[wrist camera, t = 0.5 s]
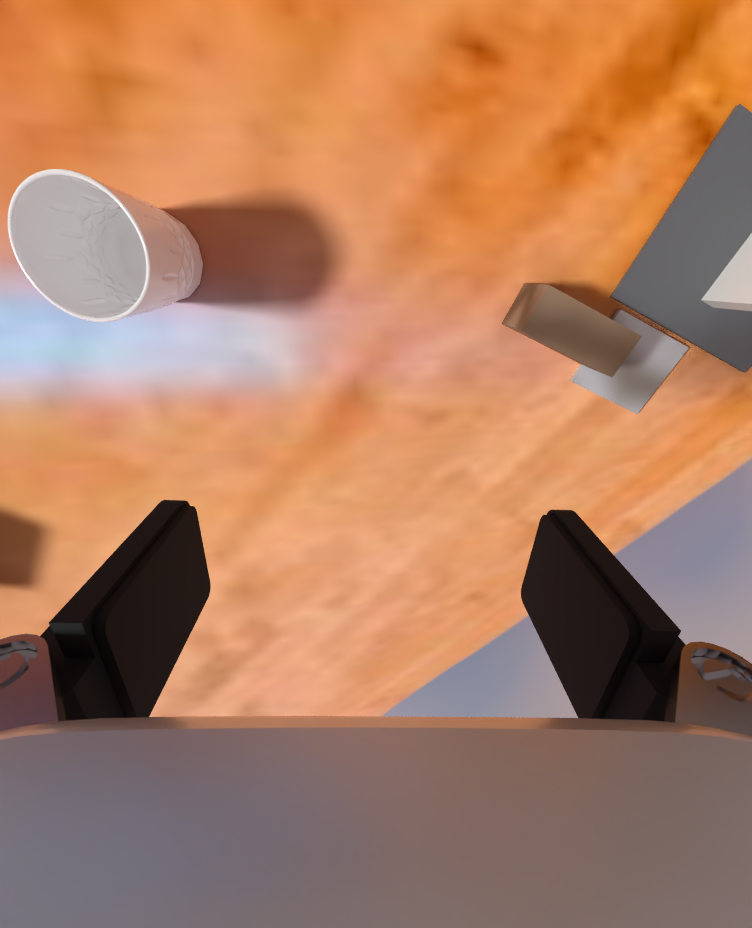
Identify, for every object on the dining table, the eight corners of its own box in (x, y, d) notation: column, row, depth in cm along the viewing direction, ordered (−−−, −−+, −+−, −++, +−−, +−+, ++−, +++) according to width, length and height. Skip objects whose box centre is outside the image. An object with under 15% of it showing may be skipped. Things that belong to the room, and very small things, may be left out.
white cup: (208, 210, 30) (141, 182, 21) (212, 315, 34) (156, 331, 25) (104, 192, 30) (-11, 156, 21) (119, 301, 33) (26, 311, 24)
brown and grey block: (535, 262, 32) (562, 260, 28) (684, 346, 36) (730, 357, 31) (491, 341, 35) (509, 351, 31) (634, 412, 38) (669, 430, 34)
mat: (735, 106, 28) (740, 104, 28) (878, 213, 31) (884, 213, 31) (610, 296, 34) (612, 297, 33) (742, 371, 37) (745, 372, 36)
